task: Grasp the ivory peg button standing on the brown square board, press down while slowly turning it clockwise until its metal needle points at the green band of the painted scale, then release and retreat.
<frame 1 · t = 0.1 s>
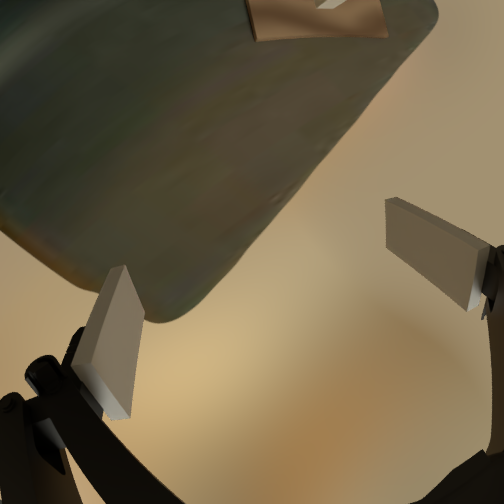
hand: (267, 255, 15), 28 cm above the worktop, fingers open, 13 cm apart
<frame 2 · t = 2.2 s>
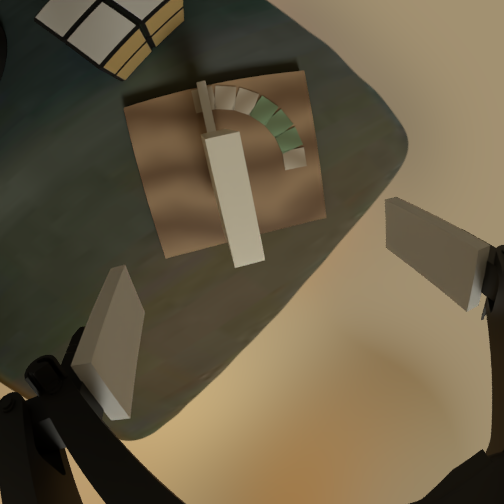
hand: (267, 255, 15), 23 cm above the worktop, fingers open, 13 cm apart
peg: (220, 157, 27), point 8 cm above the worktop, hinge at 0.0°
brown square board: (230, 160, 35), on the worktop
puzzle cube: (124, 27, 26), on the worktop
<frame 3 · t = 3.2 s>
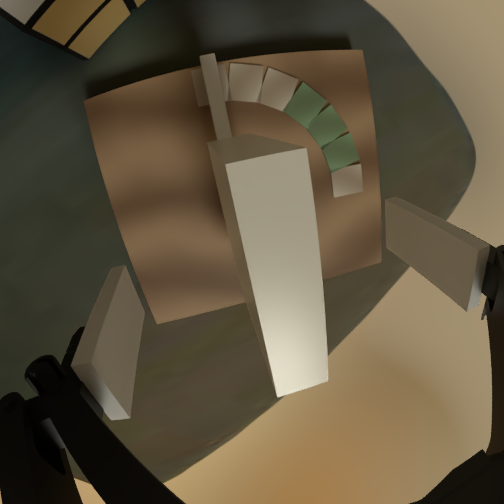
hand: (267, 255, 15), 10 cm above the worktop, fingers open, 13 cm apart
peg: (245, 186, 15), point 8 cm above the worktop, hinge at 0.0°
brown square board: (250, 182, 23), on the worktop
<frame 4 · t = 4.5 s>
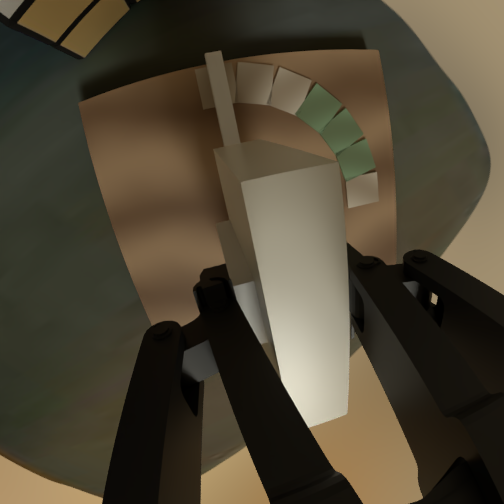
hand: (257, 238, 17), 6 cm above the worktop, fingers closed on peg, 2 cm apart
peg: (256, 200, 13), point 8 cm above the worktop, hinge at 0.0°, touching gripper
brown square board: (259, 191, 21), on the worktop
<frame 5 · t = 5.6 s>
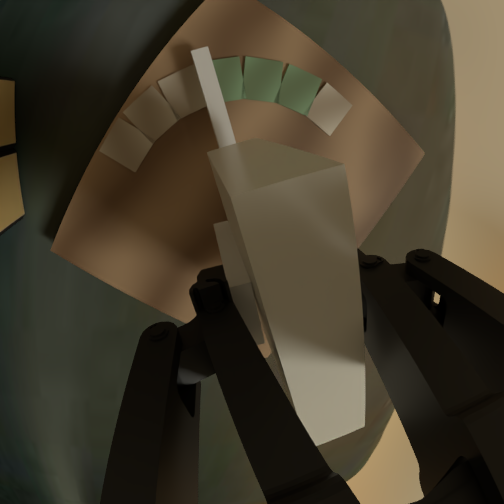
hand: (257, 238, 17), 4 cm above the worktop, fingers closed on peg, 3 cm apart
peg: (256, 205, 12), point 8 cm above the worktop, hinge at -39.0°, touching gripper
brown square board: (243, 185, 20), on the worktop
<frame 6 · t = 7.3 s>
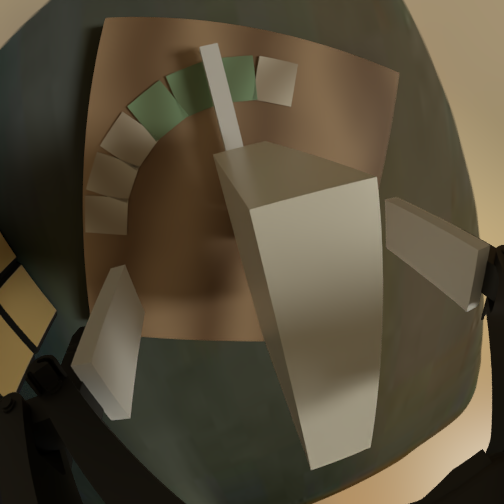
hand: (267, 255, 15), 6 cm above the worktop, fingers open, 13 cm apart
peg: (265, 213, 12), point 8 cm above the worktop, hinge at -67.9°
brown square board: (234, 193, 19), on the worktop
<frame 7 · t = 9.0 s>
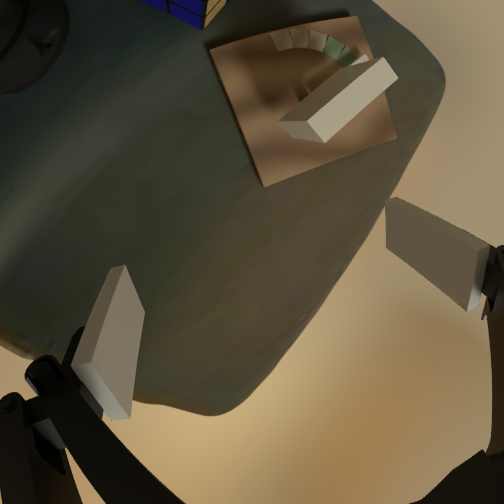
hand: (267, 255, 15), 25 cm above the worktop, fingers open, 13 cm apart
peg: (344, 85, 28), point 8 cm above the worktop, hinge at -67.9°
brown square board: (310, 93, 35), on the worktop
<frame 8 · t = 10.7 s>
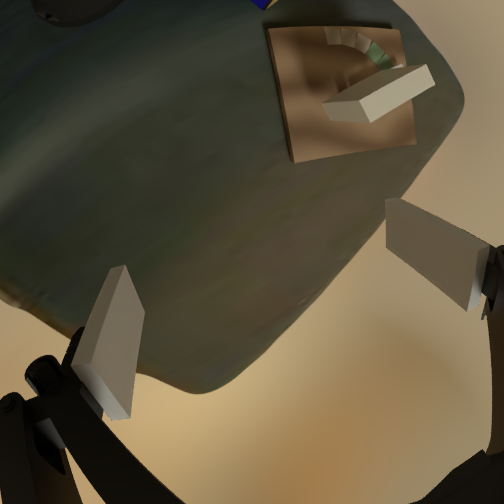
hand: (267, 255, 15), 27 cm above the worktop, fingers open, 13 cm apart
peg: (385, 83, 30), point 8 cm above the worktop, hinge at -67.9°
brown square board: (348, 88, 37), on the worktop
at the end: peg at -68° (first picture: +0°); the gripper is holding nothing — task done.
